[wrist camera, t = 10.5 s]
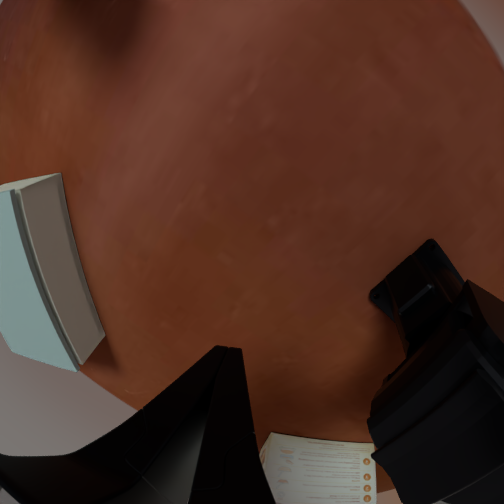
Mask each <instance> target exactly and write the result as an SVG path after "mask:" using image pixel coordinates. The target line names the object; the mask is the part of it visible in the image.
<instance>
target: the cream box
mask: <svg viewBox="0 0 504 504" xmlns="http://www.w3.org/2000/svg"><path fill="white" fill-rule="evenodd" d="M11 189H15V194H16V199H17V204H18V208H19V213H20V217H21V221H22V225H23V229H24V233H25V236H26V240H27V243H28V247H29V250H30V253H31V256H32V260H33V263H34V266H35V269H36V272H37V274H38V277H39V280H40V283H41V285H42V288H43V291H44V293H45V296H46V298H47V301H48V303H49V306H50V308H51V310H52V313H53V315H54V317H55V319H56V322H57V324H58V326H59V328H60V330H61V333H62V335H63V337H64V339H65V341H66V343H67V345H68V347H69V349H70V351H71V353H72V354H73V356H74V358H75V360H76V362H77V363H79V364H82V365H83V364H84V362H85V361H86V360H87V358H88V357H89V356H90V354H91V353H92V352H93V351H94V349H95V348H96V347H97V345H98V344H99V343H100V342H101V340H102V339H103V338H104V336H105V332H104V330H103V327H102V325H101V322H100V319H99V317H98V314H97V311H96V309H95V306H94V303H93V300H92V297H91V294H90V291H89V288H88V285H87V282H86V279H85V276H84V272H83V269H82V266H81V262H80V259H79V255H78V251H77V248H76V244H75V240H74V236H73V232H72V227H71V223H70V218H69V214H68V209H67V204H66V199H65V193H64V188H63V182H62V175H61V173H56V174H51V175H45V176H40V177H35V178H30V179H25V180H20V181H15V182H11V183H6V184H3V185H1V186H0V192H2V191H7V190H11Z"/></svg>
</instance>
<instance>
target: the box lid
mask: <svg viewBox="0 0 504 504" xmlns="http://www.w3.org/2000/svg"><path fill="white" fill-rule="evenodd" d="M0 331H1V333H2V335H3V337H4V338H5V340H6V342H7V344H8V345H9V347H10V349H11V351H12V352H14V353H17V354H20V355H22V356H25V357H28V358H31V359H34V360H37V361H40V362H43V363H47V364H50V365H53V366H57V367H60V368H64V369H67V370H71V371H75V372H78V371H79V369H80V367H79V366H78V364H77V362H76V360H75V358H74V356H73V354H72V353H71V351H70V349H69V347H68V345H67V343H66V341H65V339H64V337H63V335H62V333H61V330H60V328H59V326H58V324H57V322H56V319H55V317H54V315H53V313H52V310H51V308H50V306H49V303H48V301H47V298H46V296H45V293H44V291H43V288H42V285H41V283H40V280H39V277H38V274H37V272H36V269H35V266H34V263H33V260H32V256H31V253H30V250H29V247H28V243H27V240H26V236H25V233H24V229H23V225H22V221H21V217H20V213H19V208H18V204H17V199H16V194H15V189H11V190H7V191H2V192H0Z"/></svg>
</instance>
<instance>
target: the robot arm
mask: <svg viewBox="0 0 504 504" xmlns="http://www.w3.org/2000/svg"><path fill="white" fill-rule="evenodd" d="M431 244H433V247H432V248H429V246H430V245H431ZM375 294H378V295H377V296H374V295H375ZM370 298H371V300H372V301H373V302H374V303H375V304H376V305H377V306H378V307H379V308H380V309H381V310H382V311H383V312H384V313H385V314H387V315H388V316H389V317H390V318H391V319H392V320H393V321H394V322H395V323H396V326H397V329H398V332H399V335H400V339H401V342H402V345H403V348H404V352H405V355H406V359H405V360H404V361H403V362H402V363H401V364H400V365H399V366H398V368H397V369H396V370H395V371H394V372H393V373H392V374H389V375H388V376H387V377H386V378H385V379H384V380H383V385H382V387H381V388H380V389H379V390H378V391H377V392H376V394H375V396H374V398H373V400H372V403H371V411H370V417H369V418H368V419H367V424H368V429H369V433H370V435H371V438H372V440H373V442H374V444H375V446H376V447H377V449H378V450H376V451H374V452H373V453H371V458H372V459H373V460H374V461H376V462H377V463H378V464H379V465H380V466H382V467H383V469H384V470H385V471H386V472H387V474H388V475H389V476H390V478H391V480H392V482H393V484H394V486H395V488H396V491H397V493H398V495H399V498H400V500H401V502H402V503H403V504H434V503H436V502H439V501H442V502H445V503H448V504H504V302H503V301H501V300H500V299H498V298H497V297H495V296H494V295H492V294H490V293H489V292H487V291H486V290H484V289H483V288H481V287H479V286H478V285H476V284H475V283H473V282H471V281H470V280H468V279H467V280H466V282H464V281H463V279H462V277H461V276H460V274H459V273H458V271H457V270H456V269H455V267H454V266H453V264H452V263H451V261H450V260H449V258H448V257H447V256H446V254H445V253H444V251H443V250H442V249H441V247H440V246H439V245H438V243H437V242H436V241H435V240H434V239H428V240H427V241H426V242H425V243H424V244H423V245H422V246H421V247H419V248H418V249H417V250H416V251H415V252H414V253H413V254H412V255H409V256H408V257H407V258H406V259H405V260H404V261H403V262H402V263H401V264H399V265H398V266H397V267H396V268H395V269H394V270H393V271H392V272H390V273H389V274H388V275H387V276H386V278H385V279H384V280H383V281H381V282H380V283H379V284H378V285H377V286H376V287H374V288H373V289H372V290H371V291H370ZM188 499H189V501H188ZM187 502H188V504H276V502H275V499H274V497H273V494H272V491H271V489H270V486H269V483H268V481H267V478H266V475H265V472H264V469H263V466H262V463H261V460H260V456H259V451H258V447H257V442H256V436H255V430H254V424H253V418H252V412H251V406H250V400H249V393H248V387H247V380H246V374H245V367H244V360H243V354H242V349H241V348H235V347H229V348H228V347H227V346H219V345H216V346H214V347H213V348H212V349H211V350H210V351H209V352H208V353H206V354H205V355H204V356H203V357H202V358H201V359H200V360H198V361H197V362H196V363H195V364H194V365H193V366H191V367H190V368H189V369H188V370H187V371H186V372H185V373H183V374H182V375H181V376H180V377H179V378H178V379H176V380H175V381H174V382H173V383H172V384H170V385H169V386H168V387H167V388H166V389H165V390H163V391H162V392H161V393H160V394H159V395H157V396H156V397H155V398H154V399H152V400H151V401H150V402H149V403H148V404H146V405H145V406H144V407H143V409H140V410H139V411H138V412H136V413H135V414H134V415H133V416H132V417H130V418H129V419H128V420H126V421H125V422H123V423H122V424H121V425H119V426H118V427H116V428H115V429H113V430H111V431H110V432H108V433H107V434H105V435H103V436H102V437H100V438H98V439H97V440H95V441H93V442H92V443H90V444H88V445H86V446H85V447H83V448H81V449H79V450H77V451H75V452H72V453H70V454H66V455H58V456H8V455H3V454H0V504H187Z"/></svg>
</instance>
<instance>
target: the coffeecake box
mask: <svg viewBox="0 0 504 504" xmlns="http://www.w3.org/2000/svg"><path fill="white" fill-rule="evenodd" d="M374 451H375V450H374V443H352V442H339V441H328V440H319V439H310V438H303V437H296V436H290V435H284V434H278V433H273V432H271V434H270V435H269V437H268V439H267V440H266V442H265V444H264V445H263V447H262V448H261V451H260V455H259V456H260V460H261V463H262V466H263V469H264V472H265V475H266V478H267V481H268V483H269V486H270V489H271V491H272V494H273V497H274V499H275V502H276V504H376V466H375V461H374V460H373V459H372V458H371V453H373V452H374Z"/></svg>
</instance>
